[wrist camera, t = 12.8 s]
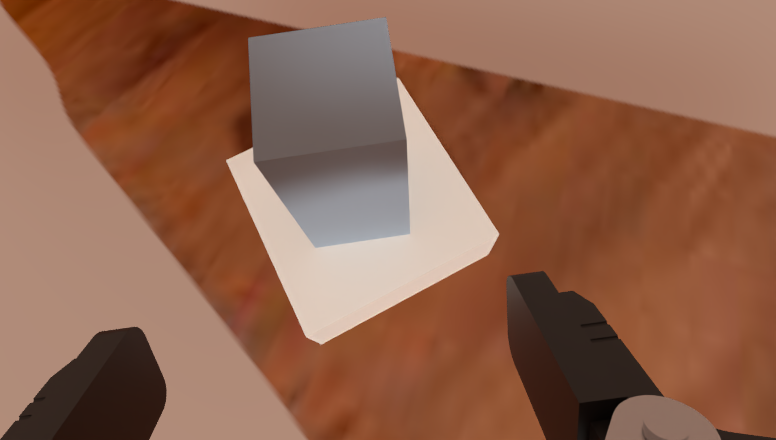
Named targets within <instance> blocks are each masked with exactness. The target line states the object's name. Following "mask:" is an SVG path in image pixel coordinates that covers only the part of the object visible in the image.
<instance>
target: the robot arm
mask: <svg viewBox="0 0 776 440" xmlns="http://www.w3.org/2000/svg"><path fill="white" fill-rule="evenodd" d="M507 320H508V339H509V345H510V350H511V354H512V358H513V361H514V363H515V366H516V368H517V371H518V373H519V375H520V378H521V380H522V383H523V385H524V387H525V390H526V392H527V395H528V397H529V399H530V402H531V404H532V407H533V409H534V411H535V414H536V416H537V418H538V421H539V423H540V426H541V428H542V430H543V433H544V435H545V438H546V440H776V438H770V437H762V436H754V435H747V434H739V433H733V432H727V431H722V430H719V429H715V428H714V426H713V425H712V424H711V423H710V422H709V421H708V420H707V419H706V418H705V417H704V416H703V415H701V414H700V413H699V412H697V411H696V410H694V409H693V408H691V407H689V406H687V405H685V404H683V403H681V402H679V401H676V400H673V399H670V398H666V397H664V396H663V395H662V393H661V392H660V391H659V389H658V388H657V387H656V386H655V384H654V383H653V382H652V380H651V379H650V378H649V376H648V375H647V374H646V372H645V371H644V370H643V368H642V367H641V366H640V364H639V363H638V362H637V360H636V359H635V358H634V356H633V355H632V354H631V353H630V351H629V350H628V349H627V347H626V346H625V345H624V343H623V342H622V341H621V339H618V335H617V334H616V333H615V331H614V330H613V329H612V327H611V326H610V325H607V321H606V320H605V318H604V317H603V316H602V314H601V313H600V312H599V310H598V309H597V308H596V306H595V305H594V304H593V303H591V302H590V301H588V300H587V299H585V298H583V297H582V296H580V295H579V294H577V293H575V292H574V291H569V292H561V293H558V291H557V290H556V288H555V287H554V285H553V284H552V282H551V281H550V279H549V278H548V276H547V275H546V273H545V272H543V271H540V272H533V273H526V274H519V275H512V276H508V278H507ZM165 402H166V384H165V380H164V377H163V375H162V373H161V371H160V368H159V366H158V364H157V361H156V359H155V357H154V355H153V353H152V350H151V348H150V345H149V343H148V341H147V339H146V337H145V334H144V333H143V331H142V330H141V329H140V328H138V327H130V328H123V329H116V330H109V331H102V332H99V333H97V334H96V335H95V336H94V337H93V338H92V339H91V341H90V342H89V343H88V344H87V346H86V347H85V348H84V349H83V351H82V352H81V353H80V355H79V356H78V357H77V358H76V359H74V360H72V361H71V362H70V363H69V364H67V365H66V366H65V367H64V368H62V369H61V370H60V371H59V372H57V373H56V374H55V375H53V376H52V377H51V378H50V379H49V380H48V382H47V383H46V384H45V385H44V387H43V388H42V389H41V390H40V391H39V393H38V394H37V395H36V396H35V398H34V402H33V403H30V404H29V405H28V406H27V407H26V408H25V410H24V411H23V412H22V414H21V415H20V416H19V417H20V418H19V421H15V422H14V423H13V425H12V426H11V427H10V428H9V429H8V431H7V432H6V433H5V434H4V435H3V437H2V438H1V439H0V440H149V439H150V437H151V434H152V432H153V430H154V428H155V426H156V424H157V422H158V420H159V418H160V416H161V414H162V411H163V409H164V406H165Z"/></svg>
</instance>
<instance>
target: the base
mask: <svg viewBox="0 0 776 440" xmlns="http://www.w3.org/2000/svg"><path fill="white" fill-rule="evenodd" d="M397 85H398V91H399V97H400V102H401V108H402V114H403V120H404V126H405V132H406V138H407V159H408V185H409V211H410V234H407V235H400V236H394V237H387V238H380V239H373V240H366V241H359V242H353V243H346V244H339V245H332V246H325V247H319V248H315V247H314V245H313V244H312V243H311V241H310V240H309V239H308V237H307V236H306V234H305V233H304V232H303V230H302V229H301V227H300V226H299V225H298V223H297V222H296V220H295V219H294V218H293V216H292V215H291V213H290V212H289V211H288V209H287V208H286V207H285V205H284V204H283V202H282V201H281V200H280V198H279V197H278V195H277V194H276V193H275V191H274V190H273V188H272V187H271V186H270V184H269V183H268V181H267V180H266V179H265V177H264V176H263V175H262V173H261V172H260V170H259V169H258V168H257V166H256V165H255V163H254V161H253V148H251V149H249V150H247V151H245V152H243V153H240V154H238V155H236V156H234V157H232V158H230V159H228V160H226V161H227V163H228V166H229V168H230V170H231V172H232V174H233V177H234V179H235V181H236V183H237V186H238V188H239V190H240V192H241V194H242V197H243V199H244V201H245V203H246V205H247V208H248V210H249V212H250V214H251V216H252V219H253V221H254V223H255V225H256V227H257V230H258V232H259V234H260V236H261V239H262V241H263V243H264V245H265V247H266V250H267V252H268V254H269V256H270V258H271V261H272V263H273V265H274V267H275V269H276V272H277V274H278V276H279V278H280V280H281V283H282V285H283V287H284V289H285V292H286V294H287V296H288V298H289V300H290V303H291V305H292V307H293V309H294V311H295V314H296V316H297V318H298V320H299V322H300V325H301V327H302V329H303V331H304V334H305V336H306V337H307V338H309V339H311V340H313V341H315V342H318V343H320V344H323V343H325V342H327V341H329V340H330V339H332V338H334V337H336V336H338V335H340V334H342V333H343V332H345V331H347V330H349V329H351V328H353V327H355V326H356V325H358V324H360V323H362V322H364V321H366V320H368V319H369V318H371V317H373V316H375V315H377V314H379V313H381V312H383V311H384V310H386V309H388V308H390V307H392V306H394V305H396V304H397V303H399V302H401V301H403V300H405V299H407V298H409V297H410V296H412V295H414V294H416V293H418V292H420V291H422V290H423V289H425V288H427V287H429V286H431V285H433V284H435V283H436V282H438V281H440V280H442V279H444V278H446V277H448V276H449V275H451V274H453V273H455V272H457V271H459V270H461V269H463V268H464V267H466V266H468V265H470V264H472V263H474V262H476V261H477V260H479V259H481V258H483V257H485V256H487V255H488V254H489V252H490V250H491V249H492V247H493V245H494V243H495V241H496V239H497V237H498V236H499V233H498V231H497V230H496V228H495V227H494V225H493V224H492V222H491V221H490V219H489V217H488V216H487V214H486V213H485V211H484V210H483V208H482V207H481V205H480V203H479V202H478V200H477V199H476V197H475V196H474V194H473V193H472V191H471V190H470V188H469V186H468V185H467V183H466V182H465V180H464V179H463V177H462V176H461V174H460V172H459V171H458V169H457V168H456V166H455V165H454V163H453V162H452V160H451V159H450V157H449V155H448V154H447V152H446V151H445V149H444V148H443V146H442V145H441V143H440V141H439V140H438V138H437V137H436V135H435V134H434V132H433V131H432V129H431V128H430V126H429V124H428V123H427V121H426V120H425V118H424V117H423V115H422V114H421V112H420V110H419V109H418V107H417V106H416V104H415V103H414V101H413V100H412V98H411V97H410V95H409V93H408V92H407V90H406V89H405V87H404V86H403V84H402V83H401V81H400V79H399V78H397Z"/></svg>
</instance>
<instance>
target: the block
mask: <svg viewBox="0 0 776 440" xmlns="http://www.w3.org/2000/svg"><path fill="white" fill-rule="evenodd" d="M248 48H249V70H250V93H251V116H252V139H253V161H254V163H255V165H256V166H257V168H258V169H259V170H260V172H261V173H262V175H263V176H264V177H265V179H266V180H267V181H268V183H269V184H270V186H271V187H272V188H273V190H274V191H275V193H276V194H277V195H278V197H279V198H280V200H281V201H282V202H283V204H284V205H285V207H286V208H287V209H288V211H289V212H290V213H291V215H292V216H293V218H294V219H295V220H296V222H297V223H298V225H299V226H300V227H301V229H302V230H303V232H304V233H305V234H306V236H307V237H308V239H309V240H310V241H311V243H312V244H313V245H314V247H315V248H319V247H325V246H332V245H339V244H346V243H353V242H359V241H366V240H373V239H380V238H387V237H394V236H400V235H407V234H410V211H409V185H408V159H407V138H406V132H405V126H404V120H403V114H402V108H401V102H400V97H399V91H398V85H397V79H396V73H395V67H394V61H393V55H392V49H391V44H390V38H389V31H388V25H387V20H386V17H384V18H377V19H370V20H363V21H357V22H350V23H343V24H337V25H330V26H323V27H317V28H310V29H303V30H297V31H290V32H283V33H277V34H270V35H263V36H257V37H250V38H248Z"/></svg>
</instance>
